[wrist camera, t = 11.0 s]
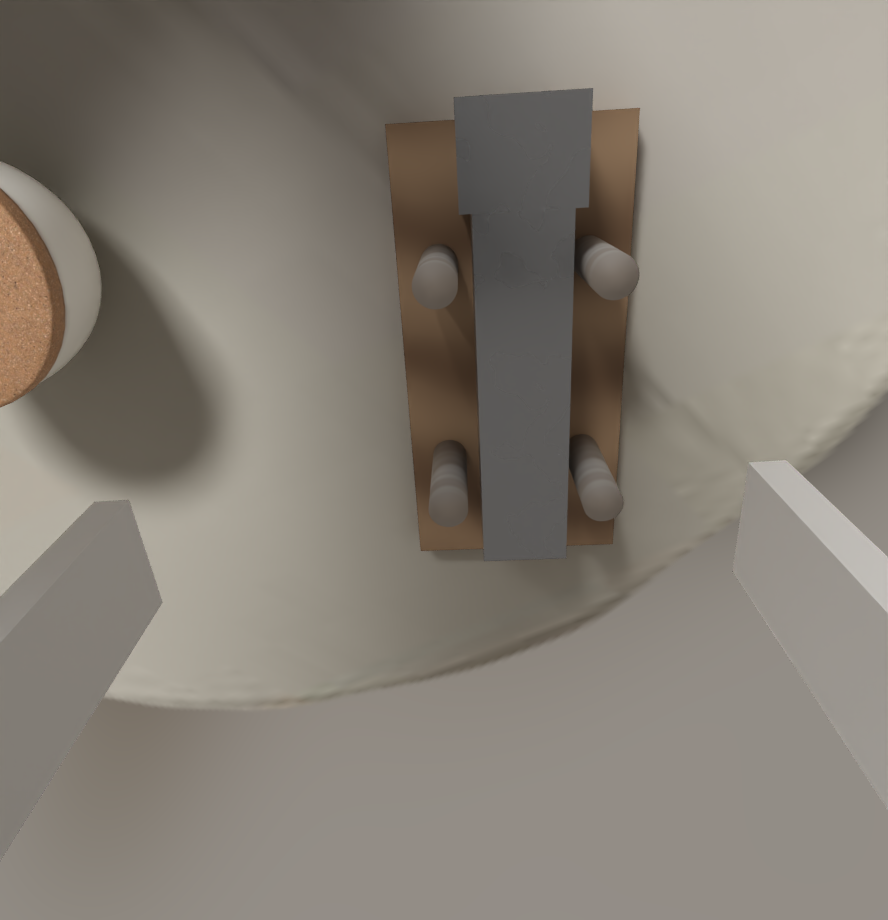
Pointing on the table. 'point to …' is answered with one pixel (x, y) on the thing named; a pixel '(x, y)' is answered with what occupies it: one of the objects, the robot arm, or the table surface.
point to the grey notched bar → (523, 304)
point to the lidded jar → (41, 284)
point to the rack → (453, 341)
